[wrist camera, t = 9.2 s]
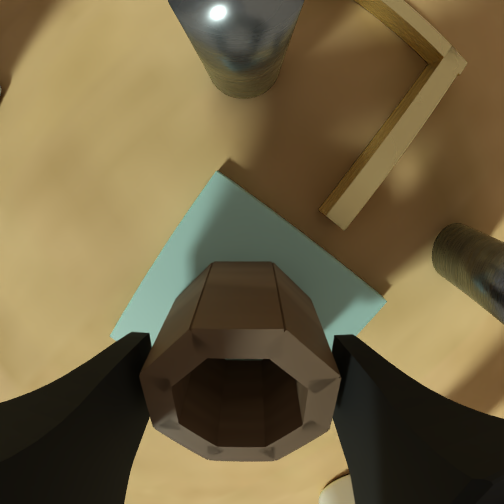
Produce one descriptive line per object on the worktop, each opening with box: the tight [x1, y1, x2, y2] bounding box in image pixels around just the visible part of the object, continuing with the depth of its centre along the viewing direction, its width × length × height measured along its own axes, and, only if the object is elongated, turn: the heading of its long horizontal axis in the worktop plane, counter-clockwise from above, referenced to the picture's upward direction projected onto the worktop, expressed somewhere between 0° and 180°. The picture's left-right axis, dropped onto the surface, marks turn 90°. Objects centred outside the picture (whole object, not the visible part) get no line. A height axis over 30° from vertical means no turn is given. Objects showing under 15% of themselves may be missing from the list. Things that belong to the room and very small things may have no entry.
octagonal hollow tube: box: [139, 261, 341, 461], centre depth 10 cm, size 5×5×4 cm
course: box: [168, 0, 504, 324], centre depth 6 cm, size 14×15×6 cm
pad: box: [110, 171, 387, 361], centre depth 12 cm, size 8×8×1 cm
